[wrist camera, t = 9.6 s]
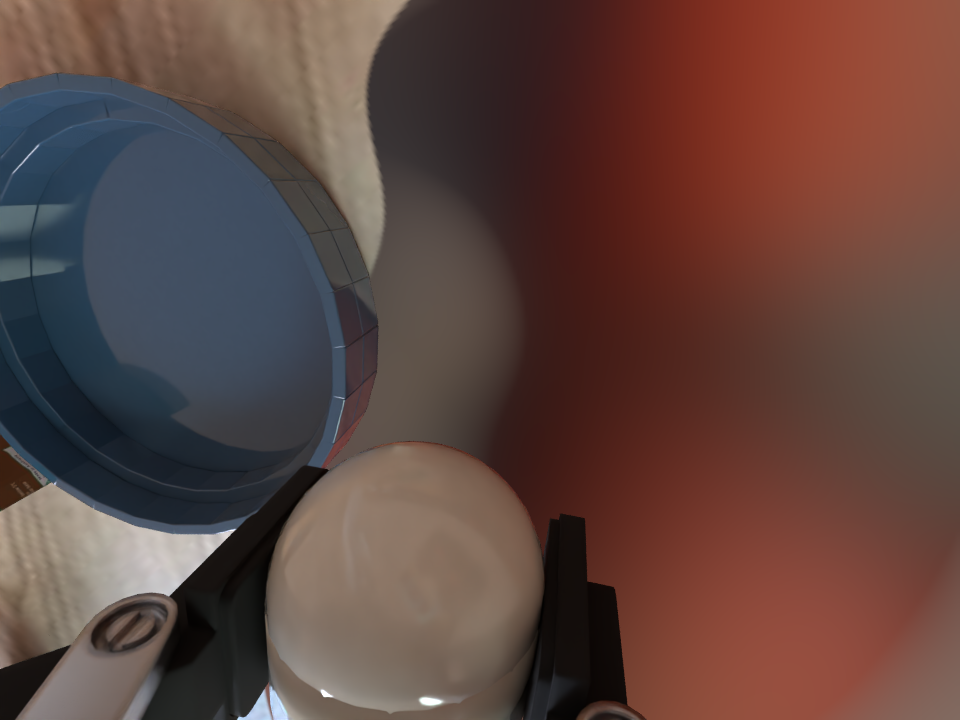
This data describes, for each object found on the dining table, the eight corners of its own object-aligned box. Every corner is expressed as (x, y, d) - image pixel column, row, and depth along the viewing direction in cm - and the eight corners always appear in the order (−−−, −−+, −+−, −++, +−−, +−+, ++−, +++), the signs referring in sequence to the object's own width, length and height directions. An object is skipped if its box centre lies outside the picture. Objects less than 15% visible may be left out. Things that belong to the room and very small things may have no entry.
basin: (-29, 76, 23) (-145, 55, 19) (387, 113, 20) (346, 96, 17) (55, 455, 30) (-18, 493, 26) (375, 518, 27) (344, 571, 24)
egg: (342, 384, 11) (174, 524, 6) (567, 421, 10) (562, 607, 6) (341, 622, 13) (218, 851, 9) (524, 664, 13) (497, 937, 8)
